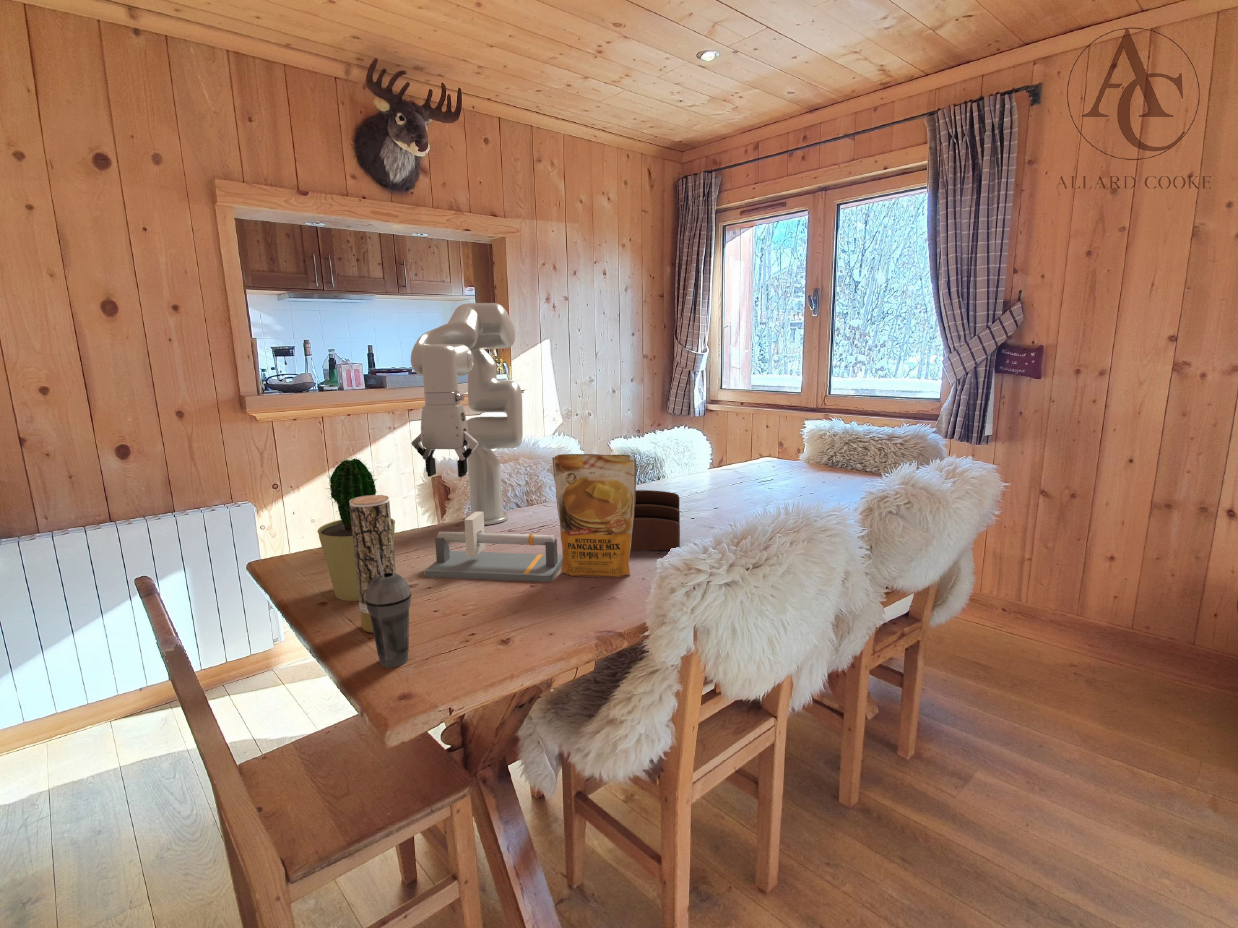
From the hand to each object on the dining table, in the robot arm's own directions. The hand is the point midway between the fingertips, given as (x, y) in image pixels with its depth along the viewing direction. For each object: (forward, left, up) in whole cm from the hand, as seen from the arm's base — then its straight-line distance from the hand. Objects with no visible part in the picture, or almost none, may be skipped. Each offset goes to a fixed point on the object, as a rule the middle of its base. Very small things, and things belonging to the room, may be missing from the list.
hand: (447, 475), depth 143 cm
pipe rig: (0, +11, -23) cm, 25 cm away
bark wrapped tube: (+32, -1, -23) cm, 39 cm away
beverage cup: (+44, +8, -23) cm, 50 cm away
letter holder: (-21, +44, -23) cm, 54 cm away
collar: (0, +6, -19) cm, 20 cm away
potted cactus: (+16, -14, -23) cm, 31 cm away
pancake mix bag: (0, +35, -23) cm, 42 cm away
